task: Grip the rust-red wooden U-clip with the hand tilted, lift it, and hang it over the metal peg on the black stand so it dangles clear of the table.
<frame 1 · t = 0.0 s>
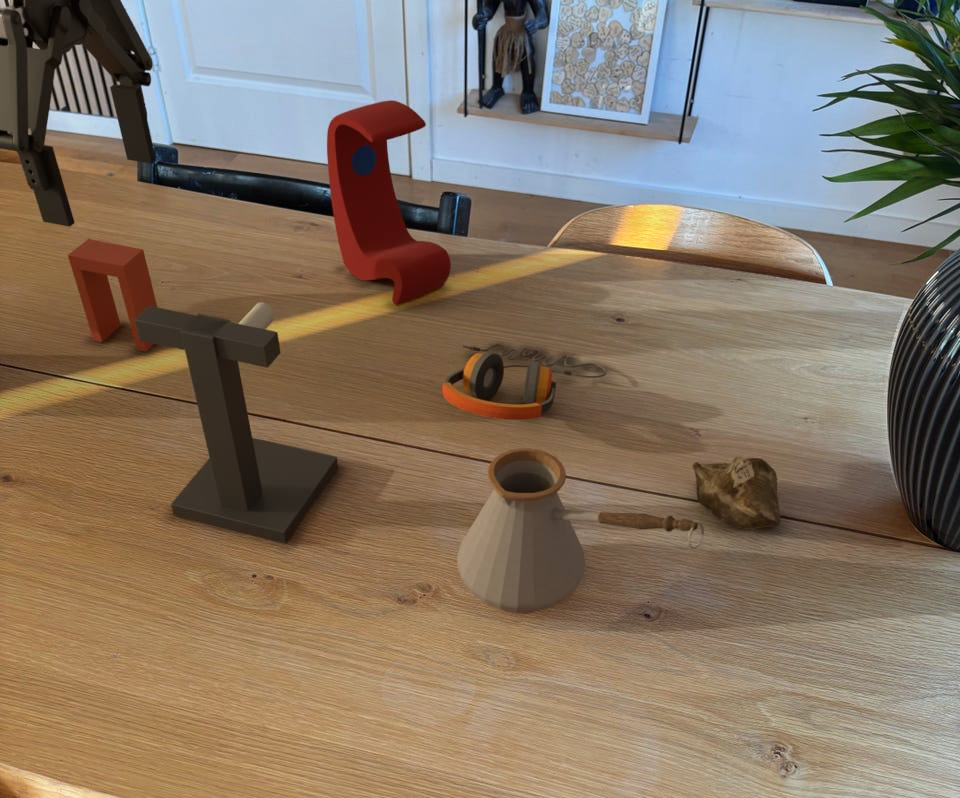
hand: (102, 190, 93), 23 cm above the table, tool pointing down, fingers open, 13 cm apart
stand: (258, 491, 100), on the table
clip: (129, 337, 119), on the table
headphones: (513, 398, 112), on the table
fossilized seashell: (732, 512, 100), on the table
coffee pot: (565, 607, 91), on the table
chair: (393, 281, 129), on the table
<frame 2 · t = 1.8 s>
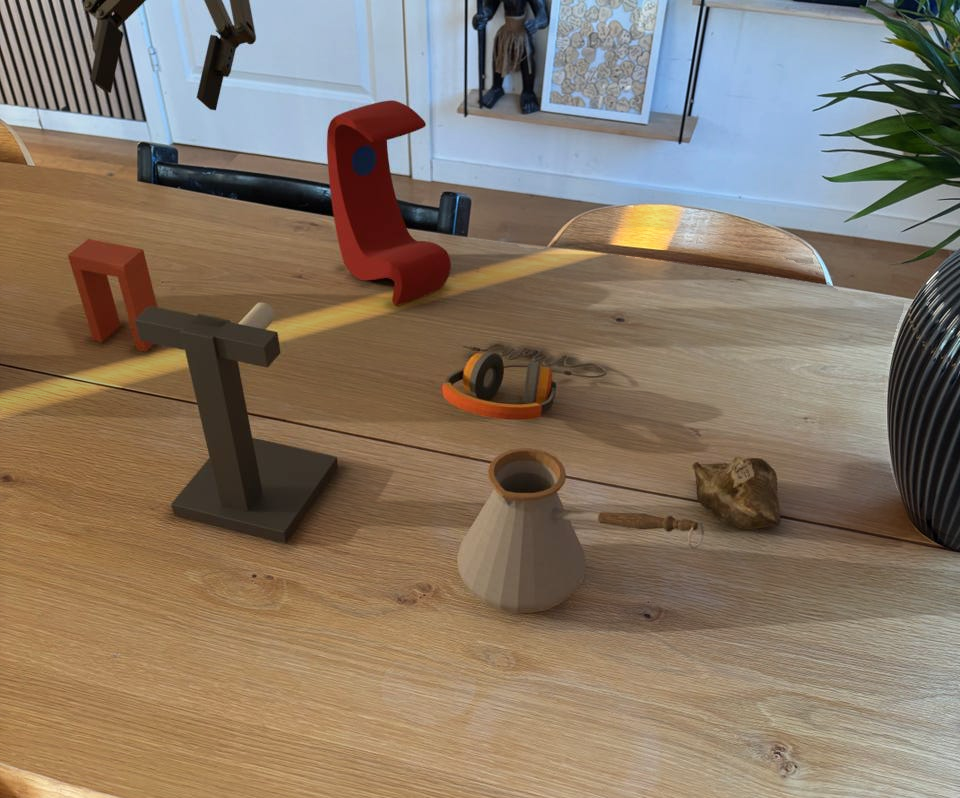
hand: (152, 95, 110), 22 cm above the table, tool tilted 45°, fingers open, 13 cm apart
nothing on the table moved.
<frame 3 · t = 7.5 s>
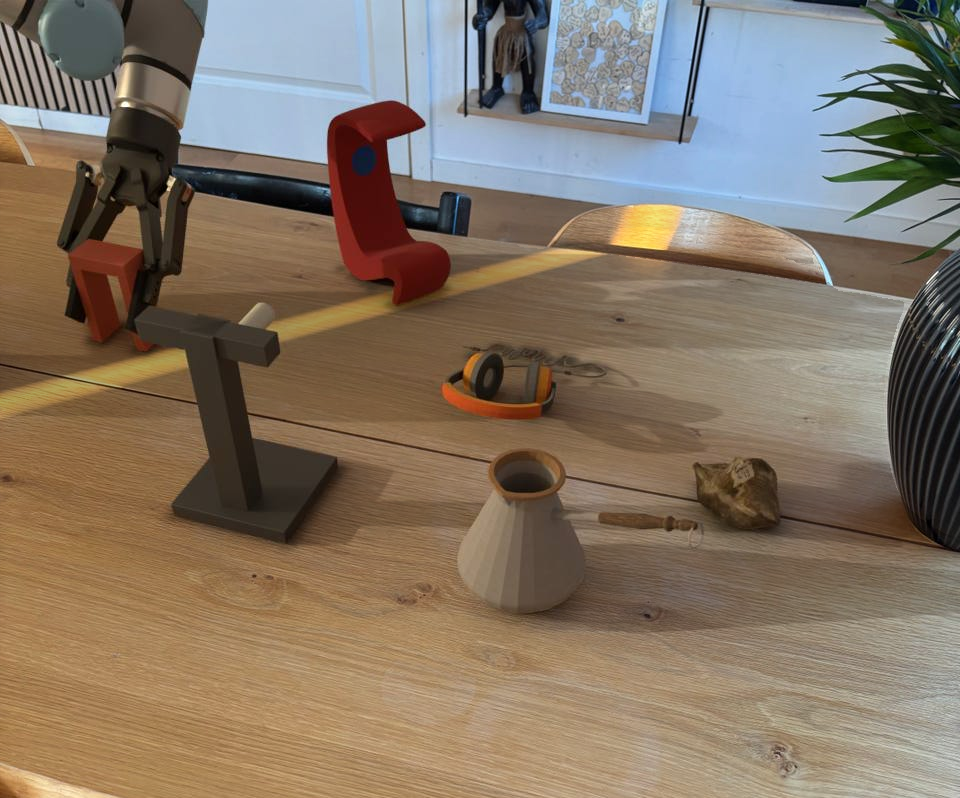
hand: (104, 325, 114), 4 cm above the table, tool tilted 45°, fingers closed on clip, 7 cm apart
clip: (128, 337, 119), on the table, touching gripper
everything else where it was.
when the fingers open (11 cm above the table, at t = 17.8 s): clip stays where it is, resting on stand.
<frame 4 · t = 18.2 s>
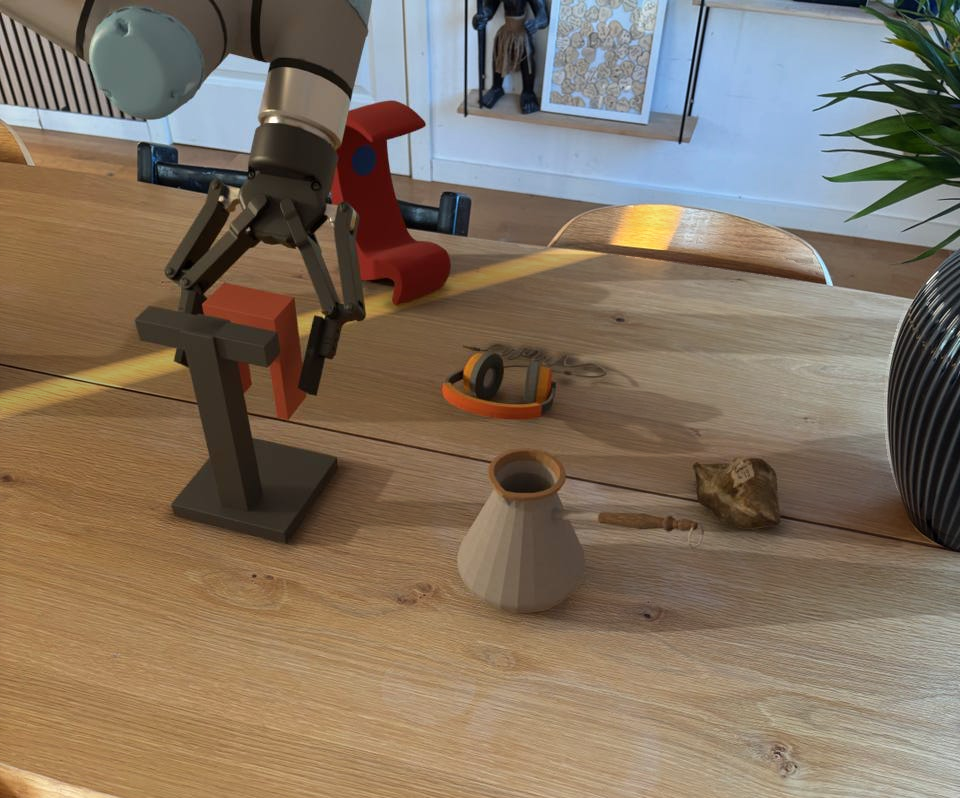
hand: (245, 378, 92), 12 cm above the table, tool tilted 45°, fingers open, 12 cm apart
clip: (264, 400, 97), point 8 cm above the table, touching stand
everything else where it was.
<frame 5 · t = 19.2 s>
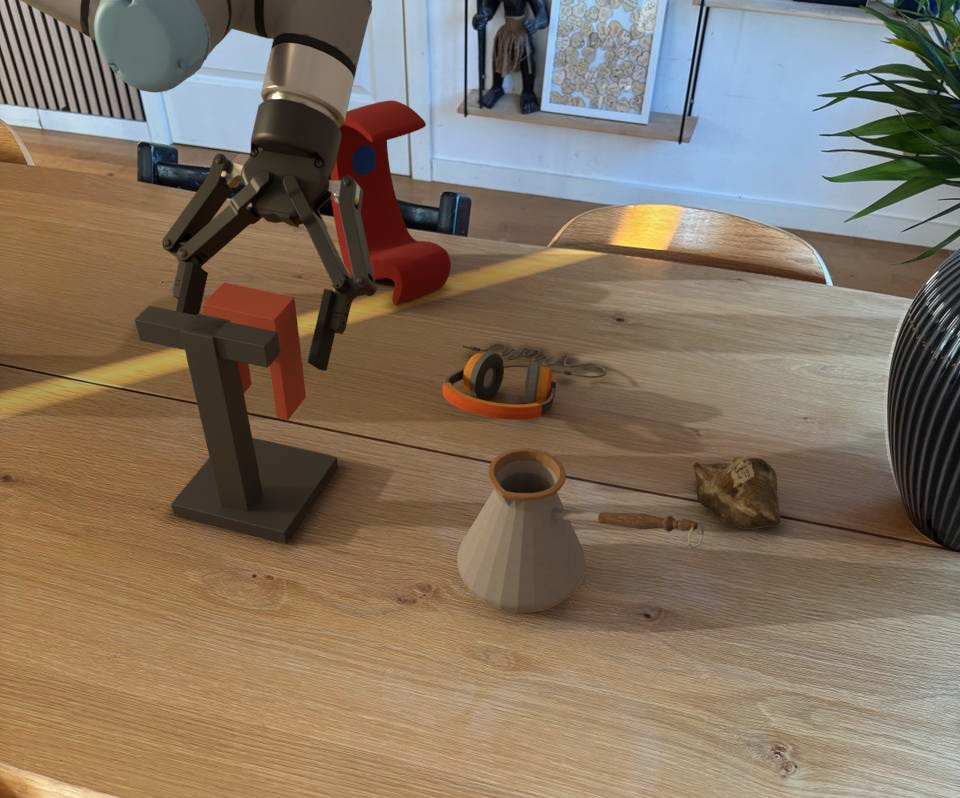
hand: (248, 352, 92), 14 cm above the table, tool tilted 45°, fingers open, 13 cm apart
nothing on the table moved.
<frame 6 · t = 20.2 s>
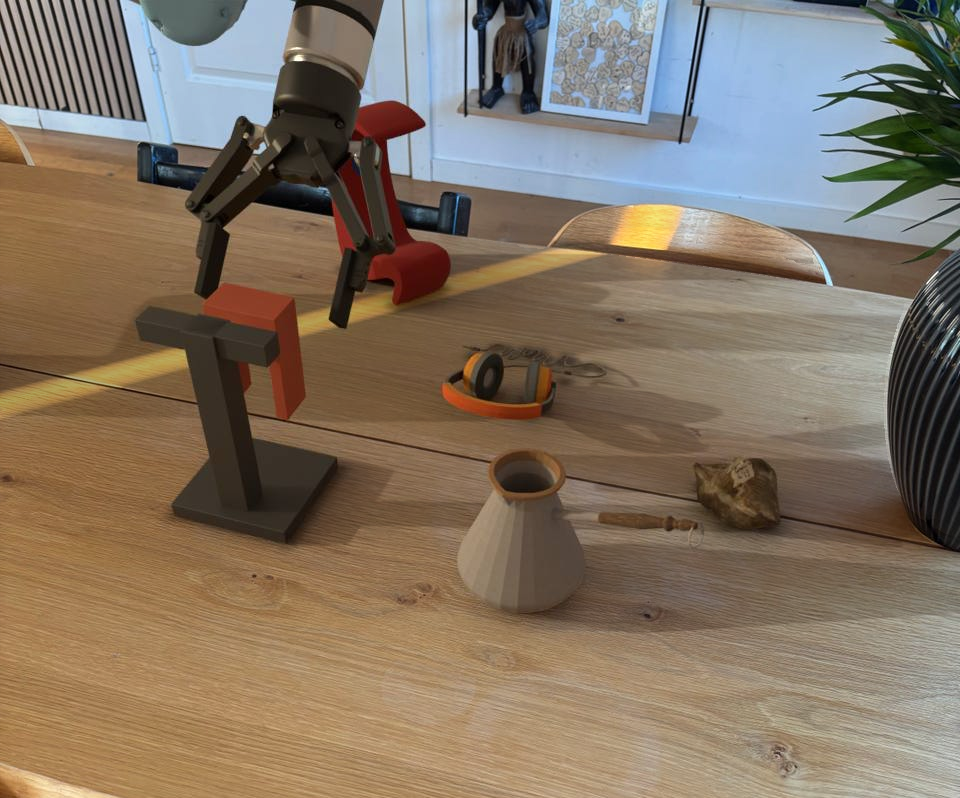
hand: (269, 311, 94), 16 cm above the table, tool tilted 45°, fingers open, 13 cm apart
nothing on the table moved.
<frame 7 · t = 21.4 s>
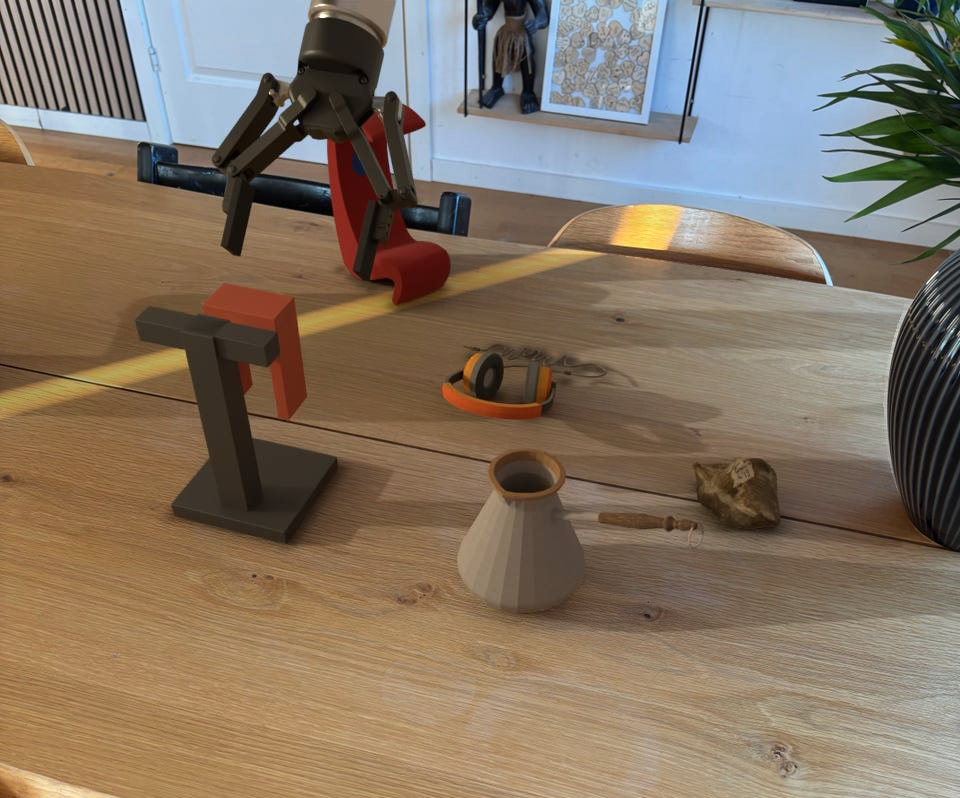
hand: (294, 263, 96), 17 cm above the table, tool tilted 45°, fingers open, 13 cm apart
nothing on the table moved.
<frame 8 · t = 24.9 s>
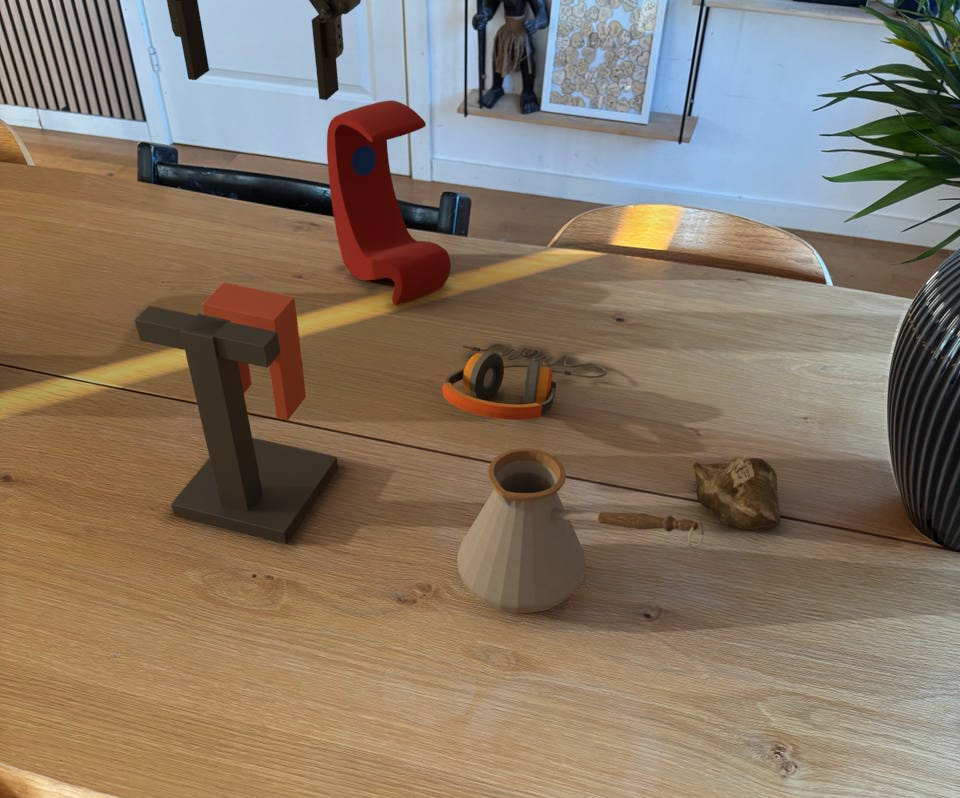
hand: (263, 85, 96), 29 cm above the table, tool pointing down, fingers open, 13 cm apart
nothing on the table moved.
at the end: clip 0.1 cm from the target spot on the stand, point 8.0 cm above the stand's base; clip touching stand; the gripper is holding nothing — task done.
